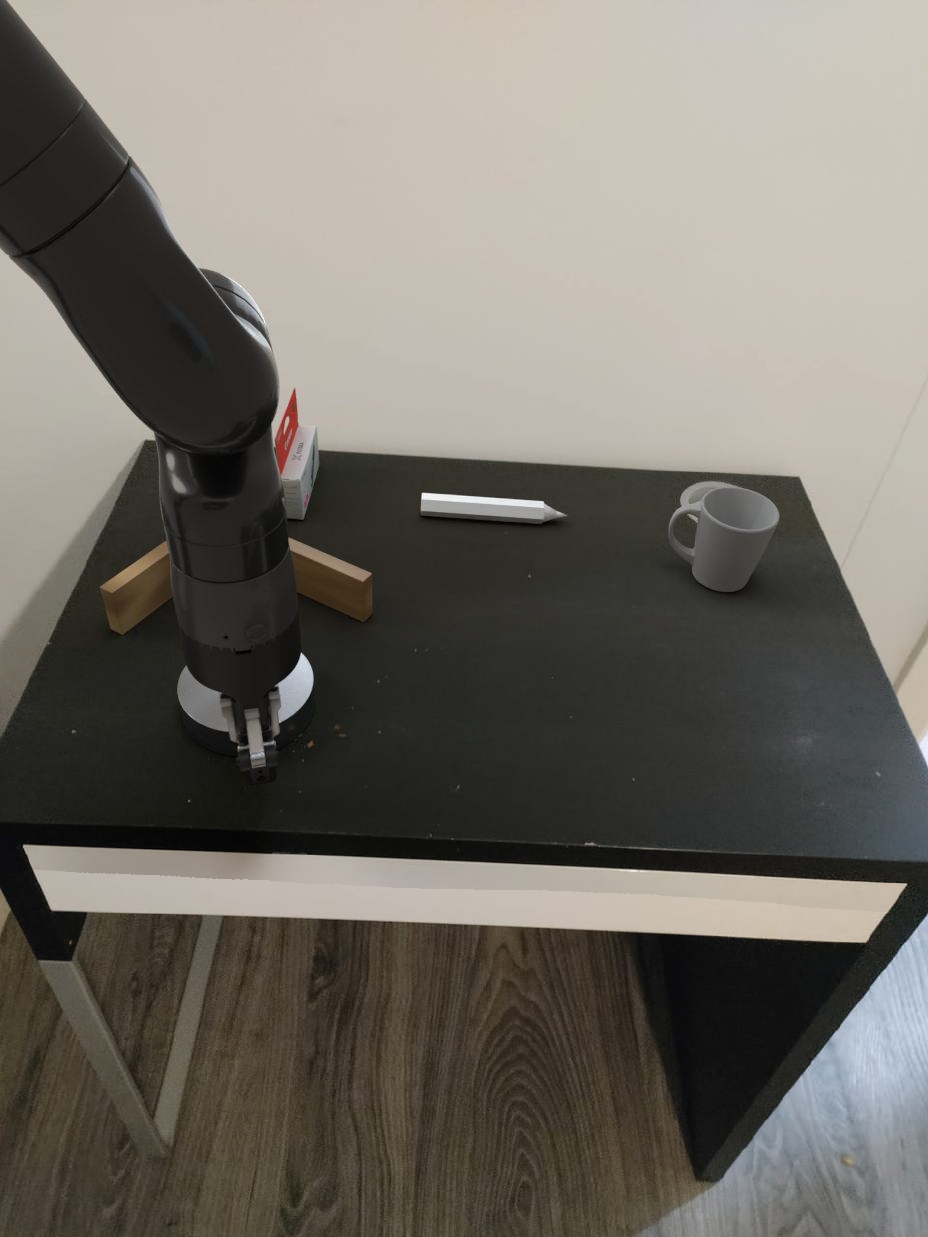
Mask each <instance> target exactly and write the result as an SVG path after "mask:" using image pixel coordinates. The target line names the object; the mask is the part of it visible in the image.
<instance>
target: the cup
mask: <svg viewBox="0 0 928 1237" xmlns="http://www.w3.org/2000/svg"><path fill="white" fill-rule="evenodd" d="M687 515H691V516H692V517H693V516H694V517H695V518H696V519H697V523H696V529H695V530H696V531H695V537H694V547H692V548H690V547H687V546H684V545H683V544H682V543H680V542H679V540H678V539H677V538H676V536H675V534H674V526H675V524H676V523H677V521H678V520H679V519H680V518H681V517H683V516H687ZM779 522H780V512H779V509H778V508H777V506H776V504H774V503H773V501H771V500H770V499H769V498H768V497H767V496H765V495H762V493H759V492H757V491H754V490H751V489H749V488H743V487H739V486H720V487H716V488H713V489H711V490H708V491H707V492H706V493H705V494H704V495H703V496H702V498H701V500H699V501H696V502H694V503H689V504H685V505H682V506H680V507H678V508H677V509H676V510H675V511H674V512H673V514H672V516H671V518H670V520H669V524H668V541H669V544H670V546H671V548H672V550H673V551H674V553H675V554H676V555H678V556H679V557H680V558H681V559H682V560H684V562H685V561H686V562H688V563H689V564H690V565H691V571H692V575H693V577H694V579H695V580H696V581H697V582H698V583H699V584H701V585H702V586H704V587H706V588H707V589H709V590H711V591H716V592H721V593H732V592H733V593H734V592H736V591H740V590H742V589H743V588H745V586H746V585H747V583H748V582H749V580H750V578H751V577H752V575H753V573H754V571H755V570H756V567H757V566H758V563H759V562H760V560H761V558H762V556H763V555H764V553H765V550H766V549H767V547H768V545H769V542H770V541H771V539H772V536H773V535H774V532H775V531H776V529H777V526H778V524H779Z"/></svg>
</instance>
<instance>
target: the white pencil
mask: <svg viewBox="0 0 928 1237" xmlns="http://www.w3.org/2000/svg"><path fill="white" fill-rule="evenodd" d="M420 516H422V517H423V516H424V517H437V518H452V519H467V520H481V521H494V522H507V523H509V522H510V523H522V524H523V523H524V524H535V525H537V524H538V525H542V524H543V523H545V522H549V521H552V520H553V519H554V520H555V519H556V520H557V519H561V518H565V517H569V515H568V514H565V513H563V512H560V511H558V510H556V509H554V508H552V507H551V506H549V505H548V504H546V503H545V501H542V500H530V499H529V500H528V499H518V498H517V499H516V498H515V499H514V498H502V497H501V498H500V497H487V496H472V495H459V494H447V493H446V494H445V493H430V492H421V499H420Z"/></svg>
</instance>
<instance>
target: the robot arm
mask: <svg viewBox="0 0 928 1237" xmlns="http://www.w3.org/2000/svg"><path fill="white" fill-rule="evenodd" d="M0 250H1V251H2V252H3V253H4V254H5V255H7V256H8V258H9V259H10V260H11V261H12V262H13V263H14V264H15V265H16V266H17V267H18V268H19V269H20V270H21V271H22V272H24V274H25V275H27V277H29V278H30V279H31V280H32V281H33V282H34V283H35V284H36V285H37V286H38V287H39V288H40V290H42V292H43V293H44V294H45V296H46V297H47V298H48V300H49V301H50V302H51V303H52V305H53V306H54V308H55V310H57V312H58V314H59V315H60V317H61V318H62V320H63V321H64V323H65V324H66V326H67V328H68V329H69V330H70V332H71V334H72V335H73V336H74V338H75V339H76V340H77V343H79V345H80V346H81V348H82V349H83V350H84V351H85V353H86V354H87V356H88V357H89V359H90V360H91V362H93V364H94V365H95V367H96V368H97V370H98V371H99V372H100V374H101V375H102V376H103V378H104V379H105V380H106V382H107V383H108V385H109V386H110V387H111V388H112V390H113V391H114V392H115V393H116V394H117V396H118V397H119V398H120V400H121V401H122V403H124V404H125V405H126V407H127V408H128V409H129V410H130V412H131V413H133V415H134V416H135V417H137V419H138V420H139V421H140V422H142V423H143V425H145V426H146V427H147V428H148V429H149V430H150V431H152V433H153V436H154V440H155V445H156V450H157V456H158V492H159V496H158V497H159V506H160V513H161V520H162V525H163V529H164V530H163V531H164V534H165V541H167V546H168V551H169V557H170V582H171V589H172V595H173V597H172V599H173V600H172V601H173V604H174V609H175V614H176V621H177V625H178V631H179V636H180V641H181V646H182V650H183V656H184V661H185V666H186V665H187V668H188V670H189V672H190V673H191V675H192V676H193V677H194V678H195V679H196V680H197V681H198V682H199V683H200V684H202V685H204V686H205V687H207V688H209V689H212V690H214V691H217V692H219V697H220V705H221V711H222V716H223V717H225V718H226V719H227V723H228V729H229V735H230V740H231V741H233V742H237V743H238V744H239V745H238V747H237V749H238V757H237V756H235V760H236V761H235V762H236V766H238V767H239V771H240V772H242V773H244V777H245V783H246V784H247V785H248V786H257V785H265V784H270V783H273V782H275V781H276V780H277V772H276V771H277V770H276V767H278V764H279V760H280V752H279V750H276V741H274V740H273V738H274V737H275V736H277V735H278V734H279V733H280V727H279V718H278V710H279V709H280V708H281V701H280V692H279V685H278V683H280V682H281V681H283V680H284V679H285V678H286V677H287V676H289V675H290V673H291V672H292V671H293V670H294V669H295V667H296V666H297V664H298V662H299V659H300V656H301V653H302V636H301V624H300V611H299V610H300V609H299V598H298V592H297V584H296V573H295V567H294V562H293V558H292V555H291V551H290V546H289V538H290V536H289V527H288V525H289V524H288V518H287V513H286V502H285V494H284V488H283V483H282V479H281V475H280V471H279V467H278V463H277V455H276V450H275V444H274V438H273V437H274V436H273V421H274V420H275V417H276V414H277V412H278V406H279V402H280V395H281V394H280V393H281V383H280V375H279V370H278V369H279V368H278V365H277V360H276V357H275V354H274V349H273V345H272V342H271V338H270V334H269V329H268V325H267V323H266V321H265V318H264V315H263V313H262V311H261V309H260V308H259V306H258V304H257V303H256V302H255V300H254V298H253V297H252V296H251V294H249V292H248V291H247V290H246V289H245V287H243V286H241V285H240V284H239V283H238V282H236V281H235V280H234V279H232V278H230V277H228V276H227V275H225V274H223V273H221V272H218V271H215V270H211V269H208V268H202V267H198V266H197V264H196V263H195V262H194V261H193V260H192V258H191V257H190V255H189V254H188V253H187V251H186V250H185V249H184V248H183V246H182V244H181V243H180V242H179V240H178V239H177V237H176V235H175V234H174V232H173V229H172V227H171V225H170V223H169V220H168V217H167V215H166V212H165V210H164V207H163V204H162V202H161V200H160V198H159V196H158V194H157V192H156V191H155V189H154V187H153V186H152V184H151V182H150V181H149V179H148V178H147V176H146V175H145V173H144V172H143V171H142V169H141V167H139V165H138V164H137V163H136V161H135V160H134V158H133V156H131V155H129V152H128V150H127V149H126V148H125V147H124V146H123V144H122V143H121V142H120V140H119V139H118V138H117V137H116V135H115V134H114V133H113V132H112V130H111V128H109V127H108V125H107V124H106V123H105V121H104V120H103V118H101V116H100V114H98V112H97V111H96V110H95V108H94V107H93V106H92V104H91V103H90V102H89V101H88V100H87V98H85V96H84V94H83V93H82V92H81V91H80V90H79V88H78V87H77V86H76V85H75V83H74V82H73V81H72V80H71V78H70V77H69V76H68V75H67V73H66V72H65V70H64V68H62V67H61V66H60V64H59V63H58V62H57V60H56V59H55V58H54V57H53V56H52V54H51V53H50V52H49V50H48V49H47V48H46V47H45V46H44V44H43V42H41V41H40V39H39V37H38V36H36V35H35V34H34V32H33V30H31V28H30V27H29V26H28V24H27V23H26V22H25V21H24V19H23V18H22V17H21V16H20V15H19V13H18V12H17V11H16V9H15V8H14V7H13V6H12V5H11V3H10V2H9V1H8V0H0Z"/></svg>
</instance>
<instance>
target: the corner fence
mask: <svg viewBox="0 0 928 1237" xmlns="http://www.w3.org/2000/svg"><path fill="white" fill-rule="evenodd" d="M289 546H290V551H291V555H292V558H293V562H294V567H295V573H296V584H297V594H300V595H302V596H305V597H306V598H309V599H311V600H313V601H315V602H318V603H320V604H323V605H324V606H326V607H329V608H331V609H334V610H335V611H338V612H341V614H343V615H346V616H348V617H351V618H353V619H355V620H357V621H359V622H362V623H365V622H366V621H367V620H368V619H369V618H370V617H371V616H372V615H373V573H372V572H370V571H368V570H365V569H364V568H361V567H359V566H356V565H354V564H352V563H349V562H347V561H345V560H342V559H339V558H337V557H335V556H333V555H331V554H329V553H326V552H324V551H321V550H319V549H317V548H315V547H313V546H309V545H308V544H305V543H303V542H300V541H298V540H296V539H295V538H291V537H289ZM99 589H100V592H101V597H102V601H103V605H104V609H105V612H106V616H107V620H108V624H109V629H110V630H112V631H114V632H116V633H118V634H119V635H122V636H123V635H125V634H126V633H127V632H129V631H130V630H131V629H133V628H134V627H135V626H136V625H138V624H139V623H140V622H142V621H143V620H144V619H146V618H147V617H148V616H150V615H151V614H152V613H154V612H155V611H156V610H158V609H159V608H160V607H161V606H162V605H164V604H165V603H167V602H168V601H169V600H171V599H173V595H172V589H171V582H170V557H169V551H168V546H167V541H166V540H165V541H163V542H161V544H159V545H157V546H156V547H155V548H153V549H152V550H151V551H149V552H148V553H146V554H145V555H143V556H142V557H140V558H139V559H138V560H136V561H135V562H133V563H132V564H131V565H129V566H128V567H126V568H125V569H123V570H122V571H120V572H119V573H118V574H116V575H114V576H113V577H112V578H111V579H109V580H107V581H106V582H104V583H103V584H102V585H100V586H99Z"/></svg>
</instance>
